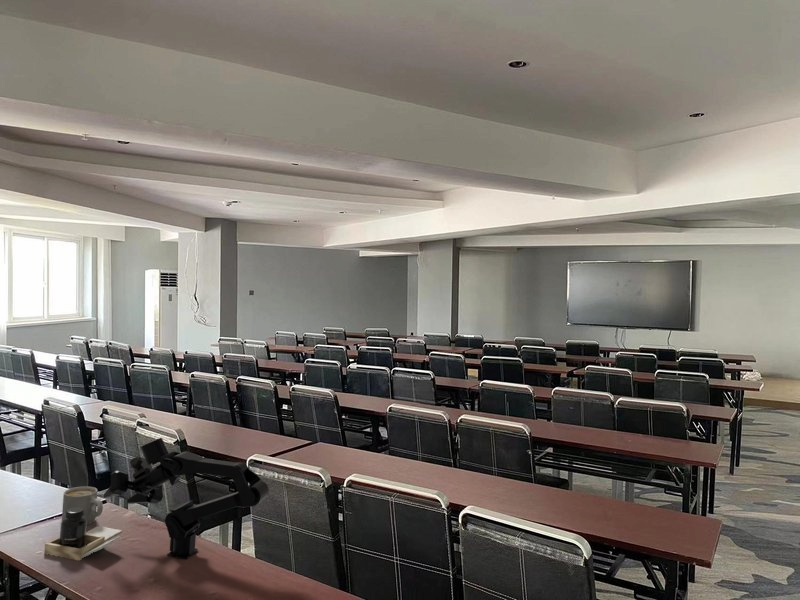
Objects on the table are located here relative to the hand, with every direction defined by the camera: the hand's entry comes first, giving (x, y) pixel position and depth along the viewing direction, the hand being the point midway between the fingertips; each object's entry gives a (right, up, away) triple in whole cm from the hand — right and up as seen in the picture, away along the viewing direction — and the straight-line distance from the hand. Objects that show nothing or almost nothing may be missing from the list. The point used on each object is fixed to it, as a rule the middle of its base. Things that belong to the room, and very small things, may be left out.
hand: (116, 498), depth 179 cm
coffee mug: (-18, -13, +13) cm, 25 cm away
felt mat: (-7, -13, +5) cm, 16 cm away
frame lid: (0, -14, -9) cm, 16 cm away
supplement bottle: (-10, -13, -7) cm, 18 cm away
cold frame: (-9, -13, -7) cm, 17 cm away
